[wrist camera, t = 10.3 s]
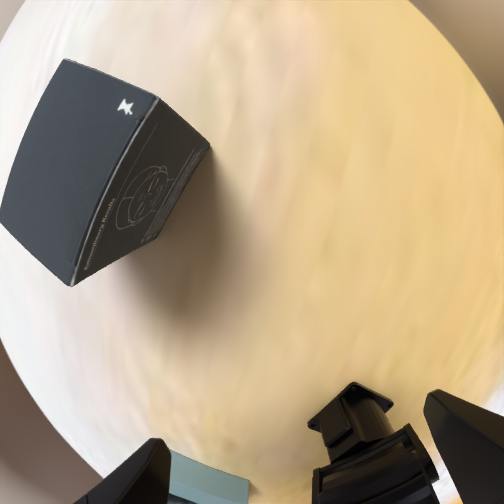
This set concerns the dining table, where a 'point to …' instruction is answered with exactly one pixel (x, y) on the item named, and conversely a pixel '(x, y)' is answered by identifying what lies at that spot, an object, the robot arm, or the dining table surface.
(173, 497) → the peg
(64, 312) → the dining table surface
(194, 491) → the hole block
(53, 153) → the box
